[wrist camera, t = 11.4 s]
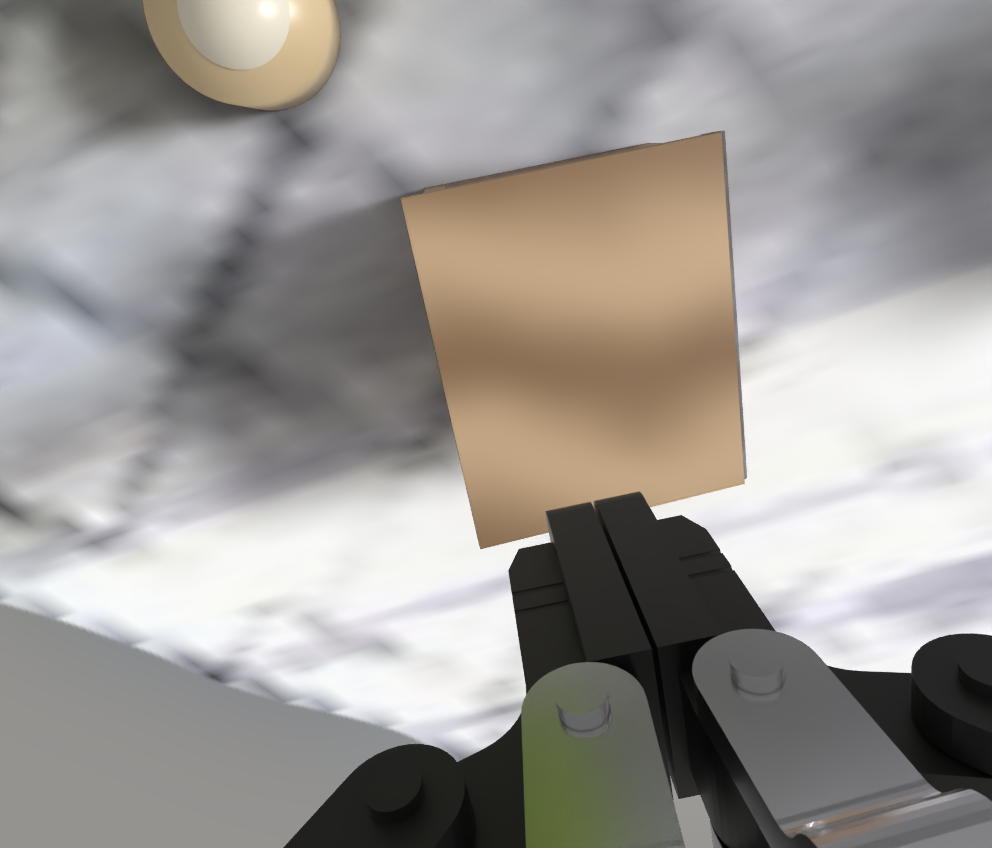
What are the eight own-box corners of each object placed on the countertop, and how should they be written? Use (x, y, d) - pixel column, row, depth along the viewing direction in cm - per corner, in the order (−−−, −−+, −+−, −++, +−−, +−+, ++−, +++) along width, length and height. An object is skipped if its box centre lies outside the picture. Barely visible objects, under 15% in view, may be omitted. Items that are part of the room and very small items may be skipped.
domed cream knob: (163, -44, 25) (113, -77, 21) (317, -75, 25) (295, -114, 21) (213, 123, 27) (177, 120, 24) (357, 95, 27) (343, 87, 24)
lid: (399, 197, 21) (400, 199, 20) (718, 130, 22) (732, 129, 21) (476, 535, 25) (480, 549, 25) (741, 470, 26) (753, 481, 25)
